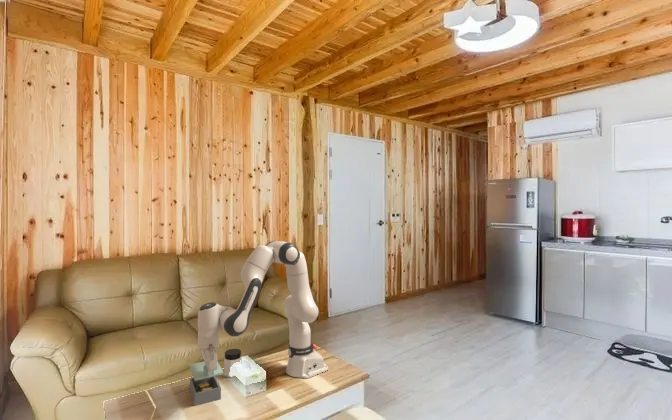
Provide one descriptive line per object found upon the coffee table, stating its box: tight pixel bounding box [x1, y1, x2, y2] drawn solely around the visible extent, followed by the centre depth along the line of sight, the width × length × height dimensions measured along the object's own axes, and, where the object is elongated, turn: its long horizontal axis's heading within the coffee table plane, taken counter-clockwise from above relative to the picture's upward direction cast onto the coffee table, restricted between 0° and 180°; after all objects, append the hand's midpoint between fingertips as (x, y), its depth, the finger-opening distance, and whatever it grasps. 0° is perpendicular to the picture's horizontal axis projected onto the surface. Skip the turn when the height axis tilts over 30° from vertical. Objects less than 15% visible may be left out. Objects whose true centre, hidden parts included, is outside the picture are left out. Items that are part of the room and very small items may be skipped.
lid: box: [188, 360, 224, 381], centre depth 161 cm, size 12×16×4 cm
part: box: [198, 382, 209, 392], centre depth 164 cm, size 4×4×3 cm
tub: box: [188, 376, 222, 407], centre depth 161 cm, size 11×15×6 cm
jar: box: [223, 348, 242, 378], centre depth 181 cm, size 9×8×12 cm
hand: (208, 371), depth 155 cm, fingers closed on lid, 2 cm apart
